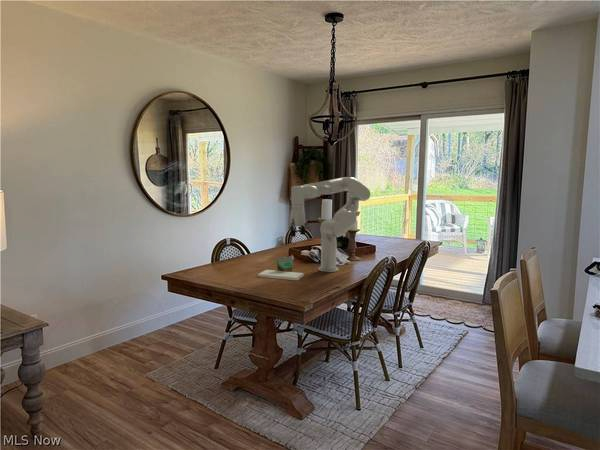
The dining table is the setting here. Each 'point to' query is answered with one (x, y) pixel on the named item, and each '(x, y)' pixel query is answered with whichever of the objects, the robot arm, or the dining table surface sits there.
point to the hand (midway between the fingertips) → (298, 235)
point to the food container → (285, 263)
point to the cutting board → (281, 275)
